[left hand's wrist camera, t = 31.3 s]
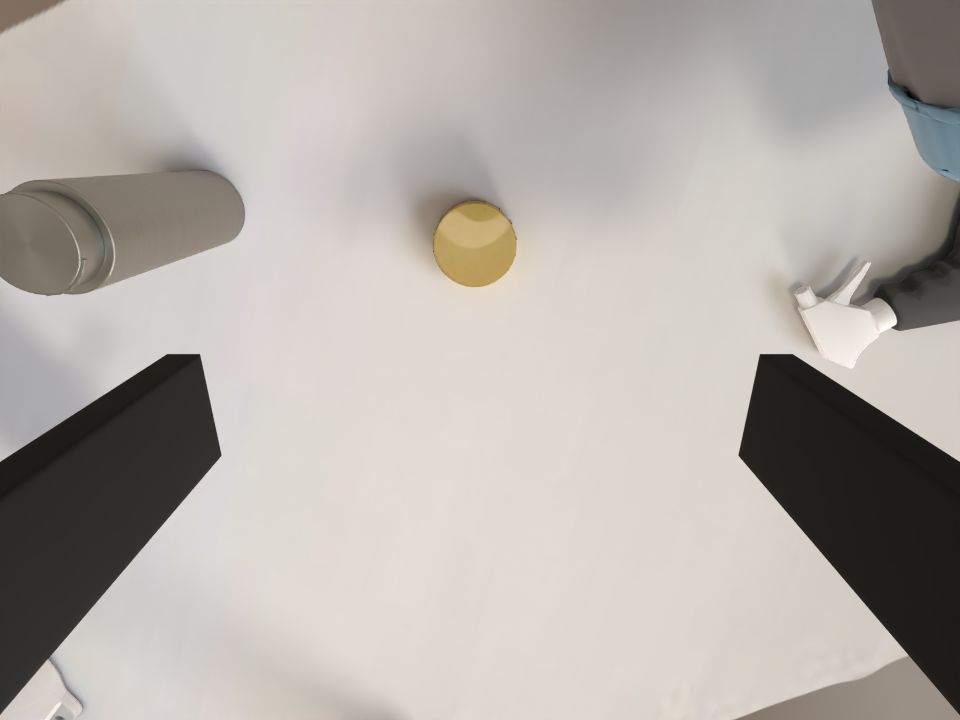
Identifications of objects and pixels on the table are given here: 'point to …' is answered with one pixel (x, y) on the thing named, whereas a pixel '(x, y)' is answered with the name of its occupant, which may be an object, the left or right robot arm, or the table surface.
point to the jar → (111, 227)
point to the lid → (474, 244)
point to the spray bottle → (881, 307)
